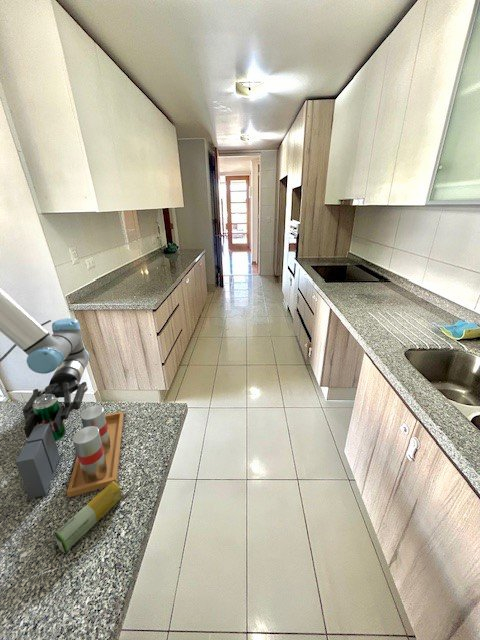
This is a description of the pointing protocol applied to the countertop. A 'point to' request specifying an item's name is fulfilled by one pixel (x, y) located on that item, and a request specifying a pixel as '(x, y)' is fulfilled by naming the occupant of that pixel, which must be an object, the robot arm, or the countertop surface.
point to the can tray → (112, 458)
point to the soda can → (48, 413)
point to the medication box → (87, 517)
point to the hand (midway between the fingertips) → (41, 430)
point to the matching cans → (92, 444)
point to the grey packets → (38, 460)
